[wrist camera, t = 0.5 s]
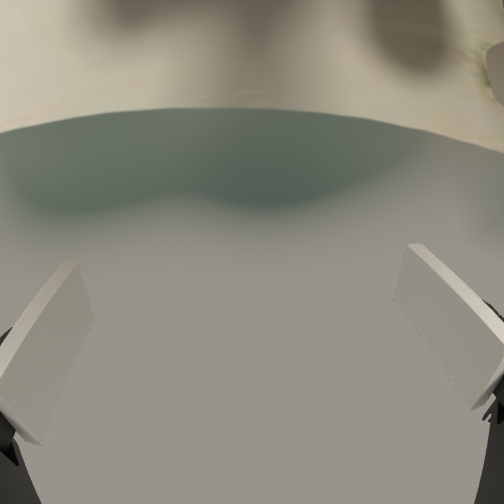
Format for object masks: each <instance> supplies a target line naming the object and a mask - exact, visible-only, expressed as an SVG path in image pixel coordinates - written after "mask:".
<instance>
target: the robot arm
mask: <svg viewBox="0 0 504 504" xmlns="http://www.w3.org/2000/svg"><path fill="white" fill-rule="evenodd" d="M394 301H395V303H396V304H397V305H398V306H399V308H400V309H401V311H402V312H403V313H404V315H405V316H406V318H407V319H408V320H409V322H410V323H411V324H412V326H413V327H414V329H415V330H416V331H417V333H418V334H419V336H420V337H421V339H422V340H423V341H424V343H425V344H426V346H427V347H428V349H429V350H430V352H431V353H432V355H433V356H434V358H435V359H436V360H437V362H438V363H439V365H440V366H441V368H442V370H443V371H444V373H445V374H446V376H447V377H448V378H449V380H450V382H451V383H452V385H453V386H454V388H455V390H456V391H457V393H458V394H459V396H460V398H461V399H462V401H463V402H464V404H465V406H466V407H467V409H468V411H471V410H473V409H476V408H478V407H480V406H482V405H484V404H485V403H486V401H487V400H488V399H489V397H490V396H491V394H492V393H494V395H495V396H496V399H495V401H494V402H493V403H492V405H491V406H490V408H489V409H488V410H487V412H486V413H485V414H484V416H483V418H482V420H485V419H486V418H487V417H488V415H489V414H490V413H491V418H490V419H489V420H488V422H490V430H489V437H488V443H487V449H486V455H485V460H484V466H483V470H482V475H481V479H480V483H479V487H478V492H477V495H476V499H475V503H474V504H504V318H503V317H502V316H501V315H498V314H499V313H498V312H497V311H496V310H495V309H494V308H493V307H492V306H491V305H490V304H488V303H486V302H485V301H484V300H482V299H480V298H479V297H478V296H477V295H476V294H475V293H474V292H473V291H472V290H471V289H470V288H469V287H468V286H467V285H466V284H465V283H464V282H463V281H462V280H461V279H460V278H459V277H457V276H456V275H455V274H454V273H453V272H452V271H451V270H450V269H449V268H447V266H445V265H444V264H443V263H442V262H441V261H440V260H439V259H438V258H436V257H435V256H434V255H433V254H432V253H431V252H430V251H429V250H427V249H426V248H425V247H424V246H422V245H421V244H406V247H405V252H404V256H403V261H402V266H401V270H400V275H399V279H398V283H397V287H396V291H395V296H394ZM95 319H96V315H95V312H94V309H93V306H92V303H91V300H90V297H89V294H88V290H87V287H86V284H85V280H84V277H83V273H82V270H81V267H80V263H79V261H70V262H69V261H68V262H63V263H62V264H61V265H60V267H59V268H58V269H57V270H56V271H55V273H54V274H53V275H52V276H51V277H50V279H49V280H48V281H47V283H46V284H45V285H44V286H43V288H42V289H41V290H40V291H39V293H38V294H37V295H36V297H35V298H34V299H33V300H32V302H31V303H30V304H29V306H28V307H27V309H26V310H25V311H24V313H23V314H22V315H21V317H20V318H19V320H18V321H17V322H16V324H15V325H14V327H12V328H10V329H9V330H8V331H7V332H6V333H4V334H3V335H2V336H1V338H0V504H41V502H40V499H39V497H38V495H37V493H36V491H35V488H34V486H33V484H32V481H31V479H30V476H29V474H28V471H27V469H26V466H25V463H24V461H23V458H22V455H21V452H20V450H19V446H18V444H17V442H16V441H15V439H14V438H13V436H14V434H15V431H17V433H18V434H19V435H20V436H21V437H22V438H23V439H24V440H25V441H26V442H30V443H33V444H37V445H40V446H44V443H45V440H46V437H47V434H48V431H49V428H50V426H51V423H52V420H53V417H54V415H55V412H56V409H57V406H58V404H59V401H60V399H61V396H62V394H63V391H64V388H65V386H66V384H67V381H68V379H69V377H70V374H71V371H72V369H73V367H74V364H75V362H76V360H77V358H78V356H79V353H80V351H81V349H82V347H83V344H84V342H85V340H86V338H87V336H88V334H89V331H90V329H91V327H92V325H93V323H94V321H95Z"/></svg>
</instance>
